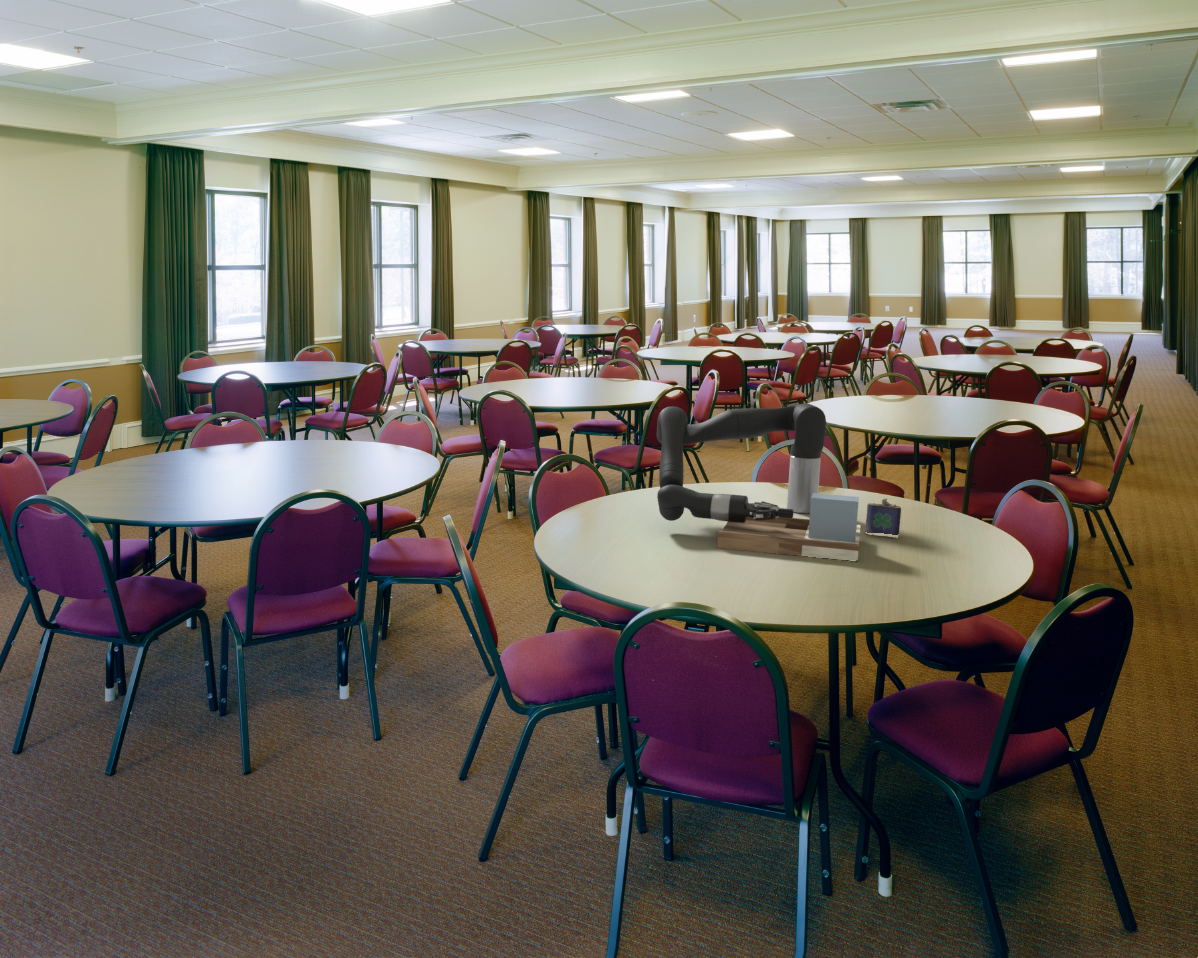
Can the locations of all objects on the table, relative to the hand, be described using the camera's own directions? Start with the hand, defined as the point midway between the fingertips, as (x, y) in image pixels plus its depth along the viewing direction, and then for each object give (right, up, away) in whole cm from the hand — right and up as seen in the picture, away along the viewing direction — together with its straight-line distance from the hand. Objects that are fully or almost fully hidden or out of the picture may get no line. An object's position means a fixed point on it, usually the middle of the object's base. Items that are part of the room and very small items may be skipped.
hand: (793, 513), depth 240 cm
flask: (+28, -7, +12) cm, 31 cm away
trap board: (0, -8, +2) cm, 8 cm away
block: (+10, -6, -2) cm, 12 cm away
